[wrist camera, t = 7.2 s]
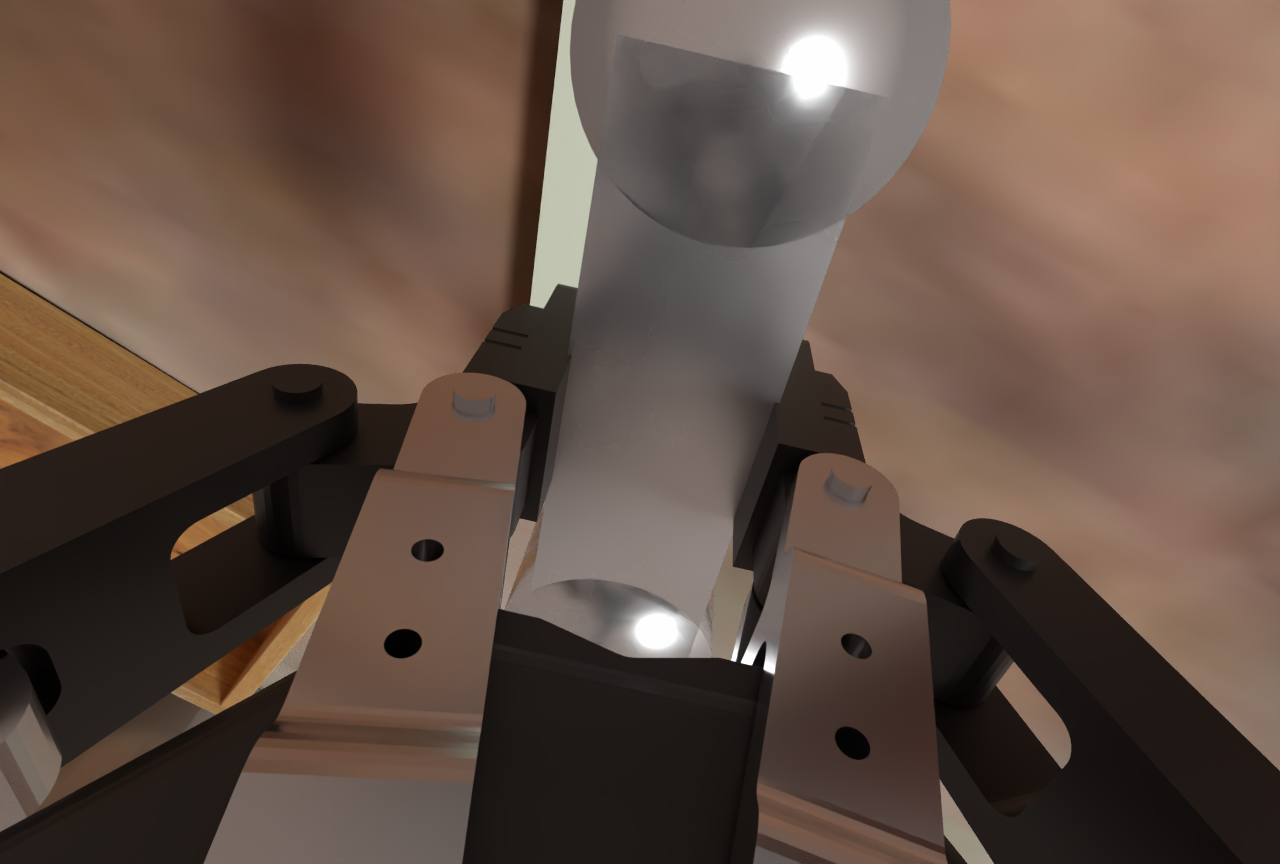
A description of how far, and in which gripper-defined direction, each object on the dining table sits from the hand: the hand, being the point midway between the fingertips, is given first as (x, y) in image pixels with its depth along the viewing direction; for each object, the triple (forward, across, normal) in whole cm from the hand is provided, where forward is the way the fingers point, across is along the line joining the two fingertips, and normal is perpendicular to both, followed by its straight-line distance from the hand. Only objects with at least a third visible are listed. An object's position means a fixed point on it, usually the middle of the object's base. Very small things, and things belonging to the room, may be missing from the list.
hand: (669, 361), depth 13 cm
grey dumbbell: (0, 0, 0) cm, 0 cm away
